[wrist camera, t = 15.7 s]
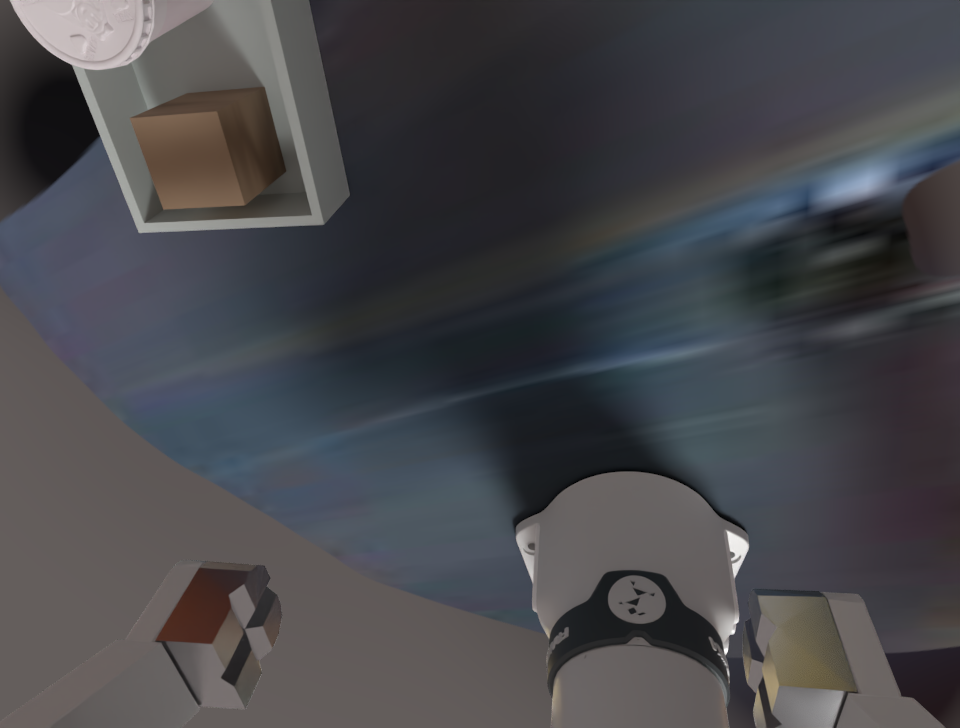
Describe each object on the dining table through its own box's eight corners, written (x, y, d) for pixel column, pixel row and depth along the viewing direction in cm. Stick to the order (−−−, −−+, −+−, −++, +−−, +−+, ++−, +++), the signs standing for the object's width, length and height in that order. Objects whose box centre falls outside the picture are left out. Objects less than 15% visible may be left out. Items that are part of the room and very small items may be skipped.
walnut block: (286, 171, 42) (245, 205, 37) (213, 175, 43) (163, 209, 38) (264, 86, 39) (216, 111, 34) (186, 93, 40) (129, 118, 35)
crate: (350, 195, 43) (324, 224, 39) (180, 204, 45) (139, 232, 41) (275, -157, 33) (230, -167, 29) (64, -125, 36) (-6, -130, 31)
